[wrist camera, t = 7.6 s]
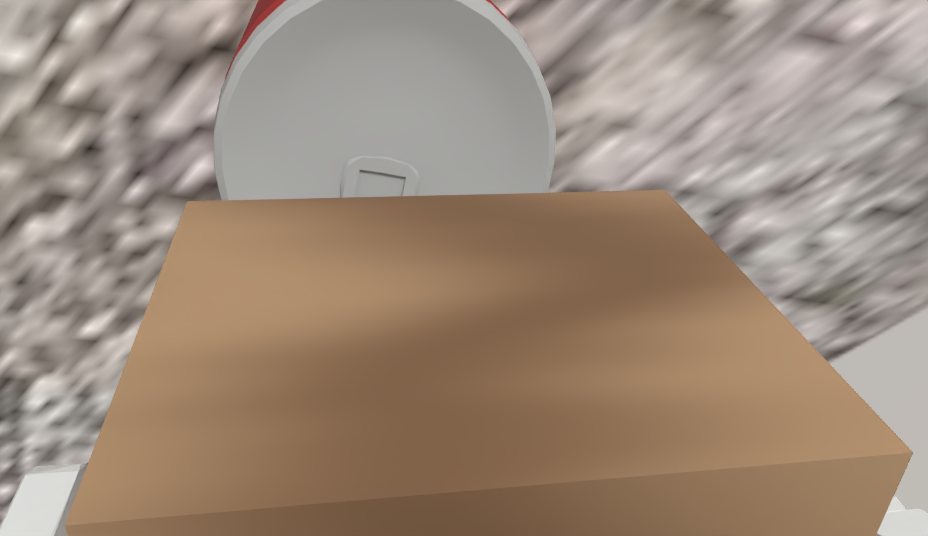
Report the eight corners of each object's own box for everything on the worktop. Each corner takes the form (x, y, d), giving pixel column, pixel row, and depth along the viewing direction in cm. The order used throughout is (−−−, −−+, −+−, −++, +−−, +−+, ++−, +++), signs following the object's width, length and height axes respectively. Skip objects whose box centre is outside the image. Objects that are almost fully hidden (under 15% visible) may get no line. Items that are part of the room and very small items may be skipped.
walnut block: (665, 190, 9) (913, 452, 5) (603, 514, 12) (737, 844, 8) (186, 200, 8) (64, 525, 4) (238, 548, 11) (191, 937, 7)
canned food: (272, 162, 28) (244, 333, 18) (233, -78, 24) (170, -17, 14) (479, 145, 29) (554, 299, 19) (475, -89, 25) (567, -38, 15)
